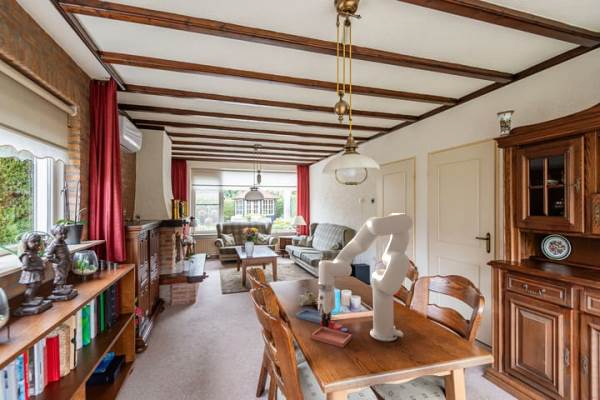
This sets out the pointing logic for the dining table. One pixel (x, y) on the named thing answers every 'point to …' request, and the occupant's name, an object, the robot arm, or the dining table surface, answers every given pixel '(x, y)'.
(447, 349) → the dining table surface
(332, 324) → the red spoon
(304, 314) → the blue tray
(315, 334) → the rose tray
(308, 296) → the ceramic sculpture
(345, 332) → the blue spoon
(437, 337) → the dining table surface
